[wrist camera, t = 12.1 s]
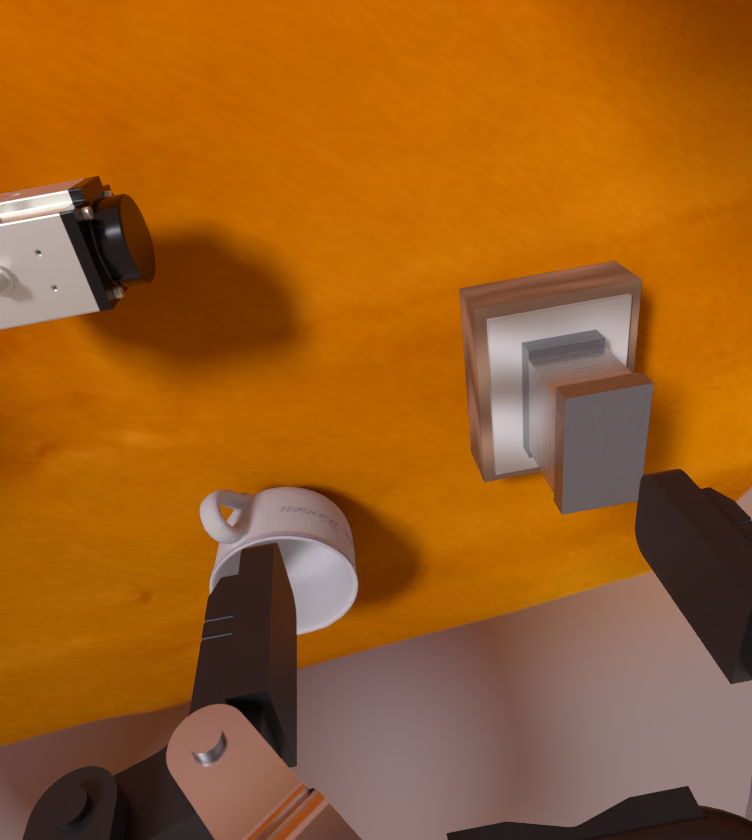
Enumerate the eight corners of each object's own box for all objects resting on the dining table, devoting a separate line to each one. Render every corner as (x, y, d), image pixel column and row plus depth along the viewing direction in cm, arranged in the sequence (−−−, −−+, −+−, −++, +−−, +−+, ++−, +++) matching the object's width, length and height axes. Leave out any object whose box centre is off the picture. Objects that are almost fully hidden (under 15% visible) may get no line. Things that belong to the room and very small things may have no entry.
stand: (459, 288, 42) (475, 312, 38) (614, 261, 42) (645, 281, 39) (471, 452, 50) (485, 485, 46) (603, 428, 50) (628, 458, 46)
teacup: (371, 538, 53) (382, 609, 46) (261, 584, 55) (256, 659, 48) (294, 417, 46) (294, 480, 39) (171, 473, 48) (150, 544, 41)
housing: (521, 342, 40) (565, 399, 34) (596, 329, 40) (653, 383, 34) (523, 447, 44) (561, 514, 38) (590, 434, 45) (640, 500, 38)
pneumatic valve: (179, 242, 39) (137, 312, 28) (-5, 277, 38) (-113, 359, 28) (148, 149, 36) (89, 189, 25) (-50, 185, 36) (-190, 240, 25)
